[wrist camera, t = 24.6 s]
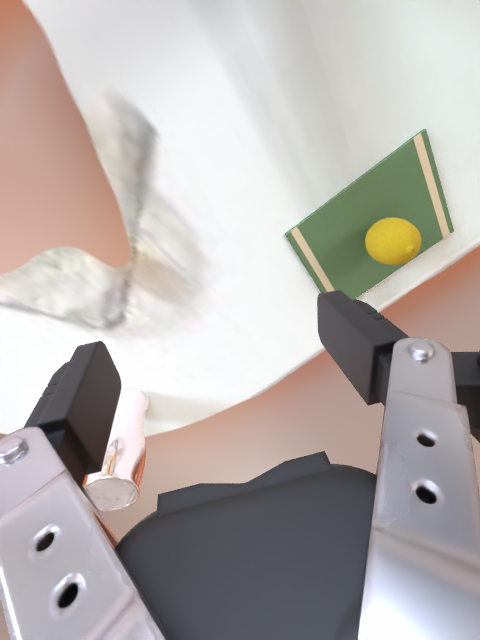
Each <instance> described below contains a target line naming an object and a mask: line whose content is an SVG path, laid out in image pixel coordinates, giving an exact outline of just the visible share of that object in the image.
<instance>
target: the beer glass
mask: <svg viewBox="0 0 480 640" xmlns="http://www.w3.org/2000/svg"><path fill="white" fill-rule="evenodd" d="M148 406H149V401H148V398H147V396H146V395H145V394H144V393H143V392H141V391H139V390H136V389H131V388H127V389H121V393H120V397H119V401H118V405H117V409H116V413H115V417H114V421H113V425H112V429H111V433H110V437H109V441H108V445H107V449H106V453H105V458H104V462H103V466H102V470H101V472H97V473H93V474H89V475H85V479H84V482H83V486H84V488H85V489H86V490H87V492H88V494H89V495H90V497H91V498H92V500H93V501H94V503H95V505H96V506H97V508H98V509H99V511H115V510H120V509H123V508H126V507H128V506H130V505H132V504H133V503H134V502H135V501H136V500H137V499H138V497H139V494H140V487H141V482H142V478H143V472H144V466H145V455H146V452H145V451H146V450H145V434H144V417H145V414H146V411H147V409H148Z"/></svg>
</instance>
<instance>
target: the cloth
mask: <svg viewBox="0 0 480 640" xmlns="http://www.w3.org/2000/svg"><path fill="white" fill-rule="evenodd" d="M385 218H401V219H404V220H407V221H408V222H410V223H411V224H413V225H414V226H415V227H416V228H417V229H418V231H419V233H420V236H421V246H420V249H419V251H418V253H417V254H416V256H414V257H413V258H412V259H414V258H415V257H417V256H418V255H420V254H421V253H423V252H424V251H426V250H427V249H428V248H430V247H431V246H433V245H434V244H436V243H437V242H439V241H440V240H442V239H444V238H445V237H447V236H448V235H450V233H452V232H453V231H454V230H453V226H452V222H451V219H450V215H449V211H448V208H447V204H446V201H445V197H444V193H443V190H442V186H441V182H440V179H439V175H438V172H437V168H436V164H435V161H434V157H433V153H432V150H431V146H430V143H429V139H428V135H427V132H426V129H423V130H422V131H421V132H419V133H418V134H417V135H415V136H414V137H413V138H411V139H410V140H409V141H407V142H406V143H405V144H403V145H402V146H401V147H399V148H398V149H397V150H396V151H394V152H393V153H392V154H390V155H389V156H388V157H386V158H385V159H384V160H382V161H381V162H380V163H378V164H377V165H376V166H374V167H373V168H372V169H370V170H369V171H368V172H366V173H365V174H364V175H362V176H361V177H360V178H359V179H357V180H356V181H355V182H353V183H352V184H351V185H349V186H348V187H347V188H345V189H344V190H343V191H341V192H340V193H339V194H337V195H336V196H335V197H333V198H332V199H331V200H329V201H328V202H327V203H325V204H324V205H323V206H322V207H320V208H319V209H318V210H316V211H315V212H314V213H312V214H311V215H310V216H308V217H307V218H306V219H304V220H303V221H302V222H300V223H299V224H298V225H296V226H295V227H294V228H292V229H291V230H290V231H288V232H287V233H286V234H285V235H286V236H287V238H288V240H289V241H290V243H291V244H292V246H293V248H294V249H295V251H296V252H297V254H298V256H299V257H300V259H301V260H302V262H303V264H304V265H305V267H306V268H307V270H308V272H309V273H310V275H311V276H312V278H313V280H314V281H315V283H316V284H317V286H318V288H319V289H320V291H321V292H322V293H325V292H330V291H334V290H341V291H342V292H343V293H344V294H346V295H347V296H348V297H349V298H350V299H351V300H354V299H355V298H357V297H358V296H360V295H361V294H362V293H364V292H365V291H367V290H368V289H370V288H371V287H373V286H374V285H376V284H377V283H379V282H380V281H382V280H383V279H384V278H386V277H387V276H389V275H390V274H392V273H393V272H395V271H396V270H398V269H399V268H401V267H402V266H404V265H405V264H406V263H408V262H409V261H408V262H406V263H404V264H400V265H387V264H383V263H381V262H378V261H376V260H375V259H374V258H372V257H371V256H370V255H369V253H368V251H367V250H366V246H365V238H366V234H367V232H368V230H369V229H370V228H371V226H372V225H374V224H375V223H376V222H378V221H380V220H382V219H385ZM412 259H411V260H412ZM411 260H410V261H411Z"/></svg>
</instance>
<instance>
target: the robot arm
mask: <svg viewBox="0 0 480 640" xmlns="http://www.w3.org/2000/svg"><path fill="white" fill-rule="evenodd" d="M317 305H318V333H319V337H320V340H321V342H322V344H323V346H324V347H325V348H326V350H327V351H328V352H329V354H330V355H331V356H332V358H333V359H334V360H335V362H336V363H337V364H338V366H339V367H340V369H342V371H343V373H344V374H345V375H346V377H347V378H348V379H349V381H350V382H351V383H352V385H353V386H354V387H355V389H356V390H357V391H358V393H359V394H360V395H361V397H362V398H363V399H364V401H365V402H366V403H367V405H372V404H375V403H379V402H382V404H383V405H384V406H385V409H384V416H383V424H382V432H381V439H380V447H379V455H378V463H377V470H376V475H375V474H373V473H370V472H368V471H366V470H363V469H360V468H356V467H352V466H347V465H339V464H330V462H329V459H328V457H327V455H326V453H325V451H323V452H319V453H315V454H312V455H308V456H304V457H300V458H296V459H292V460H289V461H285V462H283V463H282V464H279V465H278V466H276V467H274V468H272V469H271V470H269V471H267V472H265V473H263V474H262V475H260V476H258V477H256V478H254V479H253V480H251V481H249V482H246V483H242V484H197V485H193V486H190V487H185V488H182V489H178V490H174V491H170V492H166V493H162V494H158V504H157V511H155V512H153V513H151V514H150V515H148V516H147V517H146V518H144V519H143V520H141V521H140V522H139V523H138V524H137V525H135V526H134V527H133V528H132V529H131V530H130V531H129V532H128V533H127V534H126V535H125V536H124V537H123V538H122V539H121V540H120V541H119V540H118V538H117V537H116V535H115V534H114V533H113V531H112V529H111V528H110V526H109V525H108V523H107V522H106V520H105V519H104V517H103V516H102V514H101V512H100V511H99V509H98V508H97V506H96V505H95V503H94V501H93V500H92V498H91V497H90V495H89V494H88V492H87V490H86V489H85V488H84V486H83V482H84V479H85V475H89V474H93V473H97V472H101V470H102V466H103V462H104V458H105V453H106V449H107V445H108V441H109V437H110V433H111V429H112V425H113V421H114V417H115V413H116V409H117V405H118V401H119V397H120V393H121V380H120V376H119V373H118V371H117V369H116V367H115V365H114V363H113V361H112V358H111V356H110V354H109V352H108V350H107V348H106V346H105V344H104V343H103V342H102V341H99V342H94V343H89V344H85V345H80V346H78V347H77V348H76V350H75V352H74V354H73V356H72V358H71V360H70V362H67V363H65V364H64V365H63V366H62V367H61V368H60V369H59V370H58V371H56V372H55V373H54V375H53V377H52V378H51V380H50V382H49V384H48V387H46V389H45V391H44V392H43V394H42V395H43V397H41V398H40V399H39V401H38V403H37V405H36V406H35V408H34V410H33V412H32V414H31V415H30V417H29V419H28V421H27V422H26V424H25V426H24V428H23V429H20V430H17V431H15V432H13V433H11V434H9V435H7V436H6V437H4V438H3V439H1V440H0V598H1V602H2V607H3V611H4V615H5V618H6V623H7V627H8V631H9V634H10V638H11V640H480V495H479V488H478V481H477V474H476V467H475V461H474V453H473V447H472V440H471V434H472V435H473V436H474V437H475V438H476V439H477V440H478V441H479V442H480V351H479V352H450V351H449V350H448V349H447V348H446V347H445V346H444V345H442V344H441V343H439V342H436V341H434V340H430V339H426V338H421V337H408V336H407V335H406V334H405V333H404V332H402V331H401V330H400V329H399V328H397V327H396V326H395V325H394V324H392V323H391V322H390V321H389V320H388V319H385V318H384V316H383V315H381V314H380V313H377V311H376V310H375V309H374V308H373V307H371V306H370V305H369V304H367V303H364V302H362V301H359V300H357V299H354V300H351V299H350V298H349V297H348V296H347V295H346V294H344V293H343V292H342V291H341V290H334V291H330V292H325V293H321V294H319V295H318V299H317Z"/></svg>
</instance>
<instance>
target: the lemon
mask: <svg viewBox="0 0 480 640" xmlns="http://www.w3.org/2000/svg"><path fill="white" fill-rule="evenodd" d="M365 246H366V250H367V251H368V253H369V255H370V256H371V257H372V258H374V259H375V260H376V261H378V262H381V263H383V264H387V265H400V264H404V263H406V262H408V261H410V260H411V259H412V258H413V257H414V256H416V254H417V253H418V251H419V249H420V246H421V236H420V233H419V231H418V229H417V228H416V227H415V226H414V225H413V224H411V223H410V222H408V221H407V220H404V219H401V218H385V219H382V220H380V221H378V222H376V223H375V224H374V225H372V226H371V228H370V229H369V230H368V232H367V234H366V238H365Z"/></svg>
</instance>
